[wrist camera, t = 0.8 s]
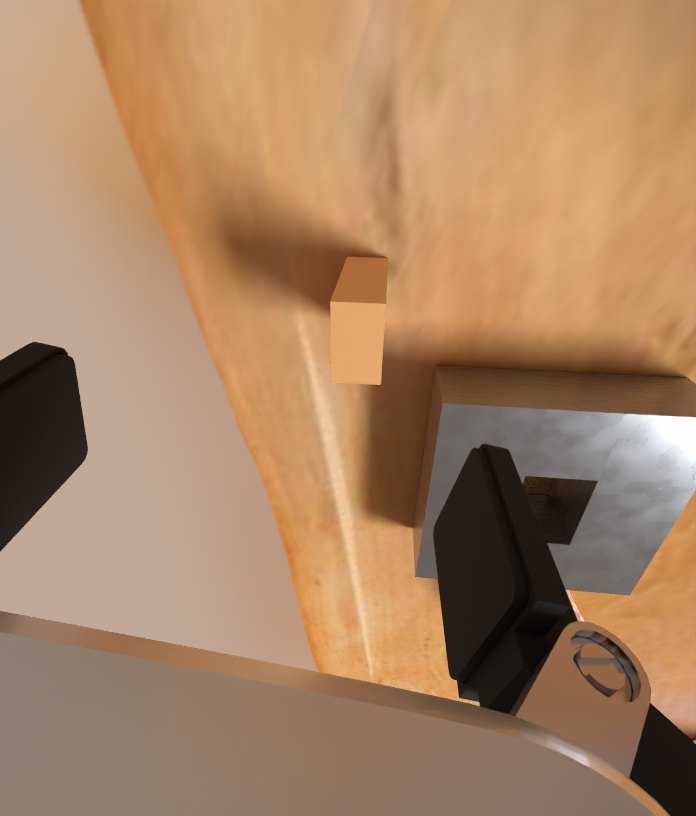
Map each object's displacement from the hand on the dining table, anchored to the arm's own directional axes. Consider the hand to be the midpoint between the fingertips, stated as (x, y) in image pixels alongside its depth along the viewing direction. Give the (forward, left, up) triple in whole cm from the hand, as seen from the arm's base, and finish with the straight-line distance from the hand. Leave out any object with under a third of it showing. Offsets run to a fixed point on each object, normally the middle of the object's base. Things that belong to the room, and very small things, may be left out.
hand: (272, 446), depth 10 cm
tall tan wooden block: (-1, +4, -24) cm, 25 cm away
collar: (-17, +20, -24) cm, 36 cm away
